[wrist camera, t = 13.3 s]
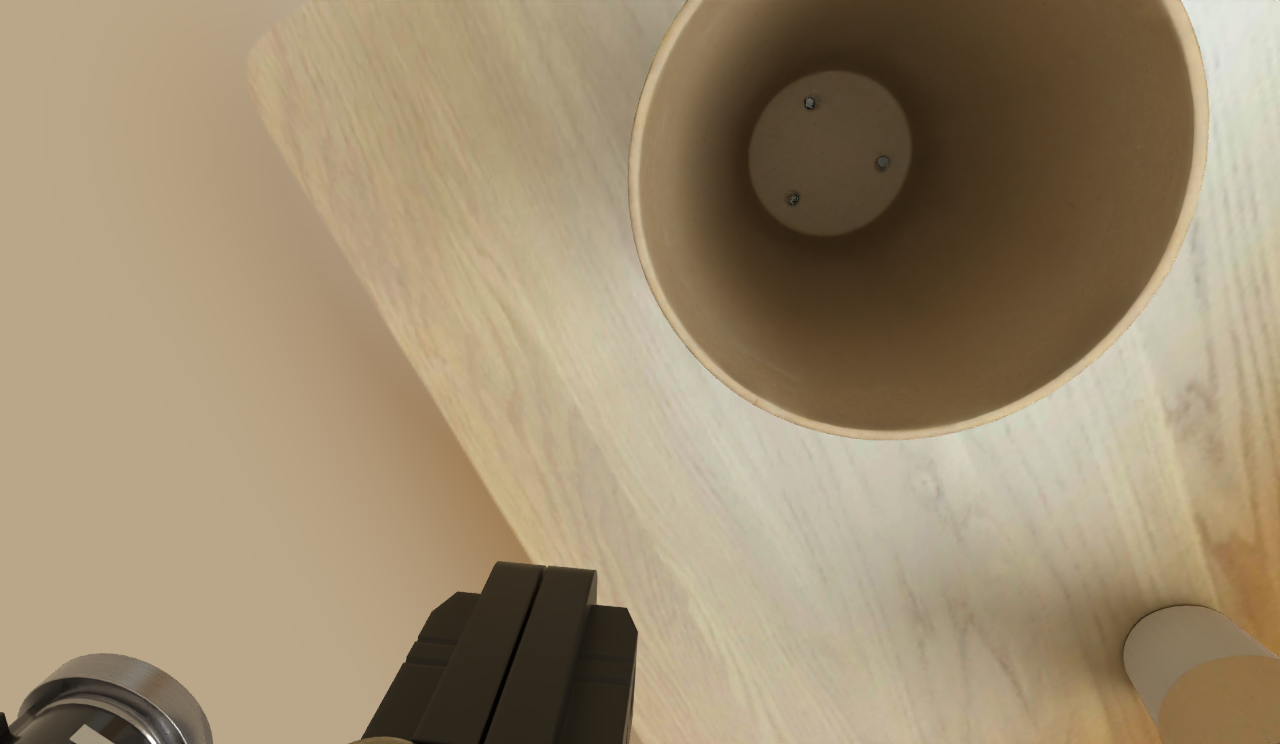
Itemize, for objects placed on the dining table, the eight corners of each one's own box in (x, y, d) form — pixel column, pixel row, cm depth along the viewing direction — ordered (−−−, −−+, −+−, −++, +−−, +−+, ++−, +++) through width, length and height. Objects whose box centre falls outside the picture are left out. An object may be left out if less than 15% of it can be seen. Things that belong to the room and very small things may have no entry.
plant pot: (997, -54, 32) (1243, -193, 17) (990, 293, 37) (1181, 419, 22) (644, -2, 34) (591, -87, 19) (680, 322, 39) (659, 458, 24)
